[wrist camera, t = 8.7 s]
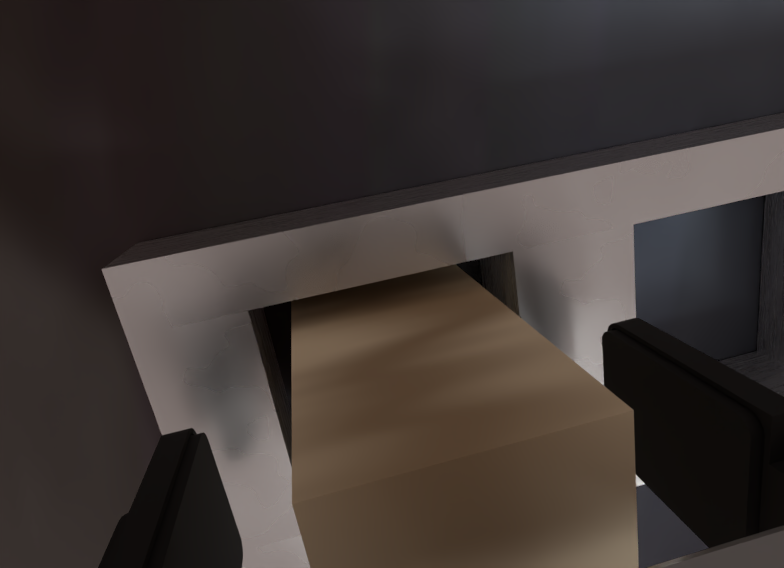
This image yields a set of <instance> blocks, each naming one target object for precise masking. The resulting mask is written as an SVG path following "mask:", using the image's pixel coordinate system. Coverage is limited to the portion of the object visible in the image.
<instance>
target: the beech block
mask: <svg viewBox="0 0 784 568" xmlns="http://www.w3.org/2000/svg"><path fill="white" fill-rule="evenodd" d="M291 382H292V506H293V509H294V513H295V516H296V520H297V523H298V527H299V530H300V534H301V537H302V540H303V544H304V547H305V551H306V554H307V558H308V561H309V565H310V568H639V563H638V532H637V500H636V469H635V438H634V410H633V409H632V408H630V407H629V406H628V405H627V404H626V403H624V402H623V401H622V400H621V399H619V398H618V397H617V396H616V395H615V394H613V393H612V392H611V391H610V390H608V389H607V388H606V387H605V386H604V385H602V384H601V383H600V382H599V381H597V380H596V379H595V378H594V377H593V376H591V375H590V374H589V373H588V372H586V371H585V370H584V369H583V368H582V367H580V366H579V365H578V364H577V363H575V362H574V361H573V360H572V359H571V358H569V357H568V356H567V355H566V354H564V353H563V352H562V351H561V350H560V349H558V348H557V347H556V346H555V345H553V344H552V343H551V342H550V341H549V340H547V339H546V338H545V337H544V336H542V335H541V334H540V333H539V332H537V331H536V330H535V329H534V328H533V327H531V326H530V325H529V324H528V323H526V322H525V321H524V320H523V319H522V318H520V317H519V316H518V315H517V314H515V313H514V312H513V311H512V310H511V309H509V308H508V307H507V306H506V305H504V304H503V303H502V302H501V301H500V300H498V299H497V298H496V297H495V296H493V295H492V294H491V293H490V292H489V291H487V290H486V289H485V288H484V287H482V286H481V285H480V284H479V283H478V282H476V281H475V280H474V279H473V278H471V277H470V276H469V275H468V274H467V273H465V272H464V271H463V270H462V269H460V268H459V267H458V266H457V265H456V264H454V265H450V266H445V267H441V268H436V269H432V270H427V271H423V272H418V273H414V274H409V275H405V276H400V277H396V278H392V279H387V280H383V281H378V282H374V283H369V284H365V285H360V286H356V287H351V288H347V289H342V290H338V291H333V292H329V293H324V294H320V295H315V296H311V297H306V298H302V299H298V300H293V301H291Z"/></svg>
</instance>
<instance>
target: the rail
mask: <svg viewBox="0 0 784 568" xmlns="http://www.w3.org/2000/svg"><path fill="white" fill-rule="evenodd" d="M763 195H765V204H764V223H763V242H762V261H761V279H760V298H759V317H758V336H757V351H755V352H752V353H748V354H744V355H740V356H736V357H733V358H729V359H725V360H721V361H719V362H721V363H722V364H724V365H726V366H728V367H730V368H732V369H734V370H735V371H737V372H739V373H741V374H743V375H745V376H746V377H748V378H750V379H752V380H754V381H756V382H758V383H759V384H761V385H763V386H765V387H767V388H769V389H770V390H772V391H774V392H776V393H778V394H780V395H782V396H783V397H784V113H779V114H774V115H769V116H764V117H759V118H754V119H749V120H744V121H739V122H734V123H729V124H724V125H719V126H714V127H709V128H705V129H700V130H695V131H690V132H685V133H680V134H675V135H670V136H665V137H660V138H655V139H650V140H645V141H640V142H635V143H630V144H625V145H620V146H615V147H610V148H606V149H601V150H596V151H591V152H586V153H581V154H576V155H571V156H566V157H561V158H556V159H551V160H546V161H541V162H536V163H531V164H526V165H521V166H516V167H511V168H507V169H502V170H497V171H492V172H487V173H482V174H477V175H472V176H467V177H462V178H457V179H452V180H447V181H442V182H437V183H432V184H427V185H422V186H417V187H412V188H408V189H403V190H398V191H393V192H388V193H383V194H378V195H373V196H368V197H363V198H358V199H353V200H348V201H343V202H338V203H333V204H328V205H323V206H318V207H313V208H309V209H304V210H299V211H294V212H289V213H284V214H279V215H274V216H269V217H264V218H259V219H254V220H249V221H244V222H239V223H234V224H229V225H224V226H219V227H214V228H209V229H205V230H200V231H195V232H190V233H185V234H180V235H175V236H170V237H165V238H160V239H155V240H150V241H145V242H140V243H136V244H135V245H134V246H132V247H131V248H130V249H128V250H127V251H126V252H124V253H123V254H121V255H120V256H119V257H117V258H116V259H115V260H113V261H112V262H111V263H109V264H108V265H106V266H105V267H104V268H102V272H103V275H104V278H105V280H106V283H107V286H108V288H109V291H110V294H111V297H112V299H113V302H114V305H115V308H116V310H117V313H118V316H119V319H120V321H121V324H122V327H123V330H124V332H125V335H126V338H127V341H128V343H129V346H130V349H131V352H132V354H133V357H134V360H135V363H136V365H137V368H138V371H139V373H140V376H141V379H142V382H143V384H144V387H145V390H146V393H147V395H148V398H149V401H150V404H151V406H152V409H153V412H154V415H155V417H156V420H157V423H158V426H159V428H160V431H161V434H162V435H165V434H169V433H173V432H177V431H181V430H185V429H189V428H193V429H194V430H195V431H196V433H197V434H199V433H203V432H204V433H205V434H206V436H207V438H208V441H209V444H210V447H211V450H212V453H213V456H214V459H215V462H216V465H217V468H218V471H219V474H220V477H221V480H222V483H223V486H224V489H225V492H226V495H227V498H228V501H229V504H230V507H231V510H232V513H233V516H234V519H235V522H236V525H237V528H238V531H239V534H240V537H241V541H242V547H243V562H242V568H310V565H309V561H308V558H307V554H306V551H305V547H304V544H303V540H302V537H301V534H300V530H299V527H298V523H297V520H296V516H295V513H294V509H293V506H292V413H291V409H290V406H289V402H288V398H287V394H286V391H285V387H284V383H283V380H282V376H281V372H280V368H279V365H278V361H277V357H276V354H275V350H274V346H273V342H272V339H271V335H270V331H269V328H268V324H267V320H266V316H265V313H264V309H263V307H266V306H271V305H275V304H280V303H284V302H289V301H293V300H298V299H302V298H306V297H311V296H315V295H320V294H324V293H329V292H333V291H338V290H342V289H347V288H351V287H356V286H360V285H365V284H369V283H374V282H378V281H383V280H387V279H392V278H396V277H400V276H405V275H409V274H414V273H418V272H423V271H427V270H432V269H436V268H441V267H445V266H450V265H454V264H459V263H463V262H468V261H472V260H477V259H480V267H481V276H482V284H483V287H484V288H485V289H486V290H487V291H489V292H490V293H491V294H492V295H493V296H495V297H496V298H497V299H498V300H500V301H501V302H502V303H503V304H504V305H506V306H507V307H508V308H509V309H511V310H512V311H513V312H514V313H515V314H517V315H518V316H519V317H520V318H522V319H523V320H524V321H525V322H526V323H528V324H529V325H530V326H531V327H533V328H534V329H535V330H536V331H537V332H539V333H540V334H541V335H542V336H544V337H545V338H546V339H547V340H549V341H550V342H551V343H552V344H553V345H555V346H556V347H557V348H558V349H560V350H561V351H562V352H563V353H564V354H566V355H567V356H568V357H569V358H571V359H572V360H573V361H574V362H575V363H577V364H578V365H579V366H580V367H582V368H583V369H584V370H585V371H586V372H588V373H589V374H590V375H591V376H593V377H594V378H595V379H596V380H597V381H599V382H600V383H601V384H602V385H604V372H603V352H602V336H603V333H604V332H607V330H608V327H609V325H610V324H612V323H616V322H620V321H624V320H629V319H633V318H636V302H635V264H634V227H633V224H638V223H642V222H647V221H651V220H656V219H660V218H665V217H669V216H673V215H678V214H682V213H687V212H691V211H696V210H700V209H705V208H709V207H714V206H718V205H723V204H727V203H732V202H736V201H741V200H745V199H750V198H754V197H759V196H763ZM644 484H645V483H644V482H643V481H642V480H641V479H640V478H639V477H638V476H637V475H636V487H637V486H641V485H644Z"/></svg>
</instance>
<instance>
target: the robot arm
mask: <svg viewBox="0 0 784 568" xmlns="http://www.w3.org/2000/svg"><path fill="white" fill-rule="evenodd" d="M602 352H603V372H604V386H605V387H606V388H607V389H608V390H610V391H611V392H612V393H613V394H615V395H616V396H617V397H618V398H619V399H621V400H622V401H623V402H624V403H626V404H627V405H628V406H629V407H630V408H632V409H633V410H634V438H635V469H636V475H637V476H638V477H639V478H640V479H641V480H642V481H643V482H644V483H645V484H646V485H647V486H648V487H649V488H650V489H651V490H652V491H653V492H654V493H655V494H656V495H657V496H658V497H659V498H660V499H661V500H662V501H663V502H664V503H665V504H666V505H667V506H668V507H669V508H670V509H671V510H672V511H673V512H674V513H675V514H676V515H677V516H678V517H679V518H680V519H681V520H682V521H683V522H684V523H685V524H686V525H687V526H688V527H689V528H690V529H691V530H692V531H693V532H694V533H695V534H696V535H697V536H698V537H699V538H700V539H701V540H702V541H703V542H704V543H705V544H706V545H707V546H708V547H709V548H708V549H705V550H702V551H699V552H695V553H692V554H689V555H686V556H682V557H679V558H676V559H673V560H669V561H666V562H663V563H659V564H656V565H653V566H650V567H646V568H784V397H783V396H782V395H780V394H778V393H776V392H774V391H772V390H770V389H769V388H767V387H765V386H763V385H761V384H759V383H758V382H756V381H754V380H752V379H750V378H748V377H746V376H745V375H743V374H741V373H739V372H737V371H735V370H734V369H732V368H730V367H728V366H726V365H724V364H722V363H721V362H719V361H717V360H715V359H713V358H711V357H709V356H708V355H706V354H704V353H702V352H700V351H698V350H697V349H695V348H693V347H691V346H689V345H687V344H685V343H684V342H682V341H680V340H678V339H676V338H674V337H672V336H671V335H669V334H667V333H665V332H663V331H661V330H660V329H658V328H656V327H654V326H652V325H650V324H648V323H647V322H645V321H643V320H641V319H639V318H633V319H629V320H624V321H620V322H616V323H612V324H610V325H609V327H608V330H607V332H604V333H603V336H602ZM242 562H243V547H242V541H241V537H240V534H239V531H238V528H237V525H236V522H235V519H234V516H233V513H232V510H231V507H230V504H229V501H228V498H227V495H226V492H225V489H224V486H223V483H222V480H221V477H220V474H219V471H218V468H217V465H216V462H215V459H214V456H213V453H212V450H211V447H210V444H209V441H208V438H207V436H206V434H205V433H204V432H203V433H199V434H197V433H196V431H195V430H194V429H193V428H189V429H185V430H181V431H177V432H173V433H169V434H165V435H162V436H161V438H160V440H159V443H158V445H157V447H156V450H155V452H154V454H153V457H152V459H151V461H150V464H149V466H148V468H147V471H146V473H145V476H144V478H143V480H142V483H141V485H140V487H139V490H138V492H137V494H136V497H135V499H134V502H133V504H132V506H131V509H130V511H129V513H127V514H125V515H124V516H122V517H121V519H120V520H119V522H118V524H117V526H116V528H115V531H114V533H113V535H112V538H111V540H110V542H109V544H108V547H107V549H106V551H105V553H104V556H103V558H102V560H101V563H100V565H99V567H98V568H242Z"/></svg>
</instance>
